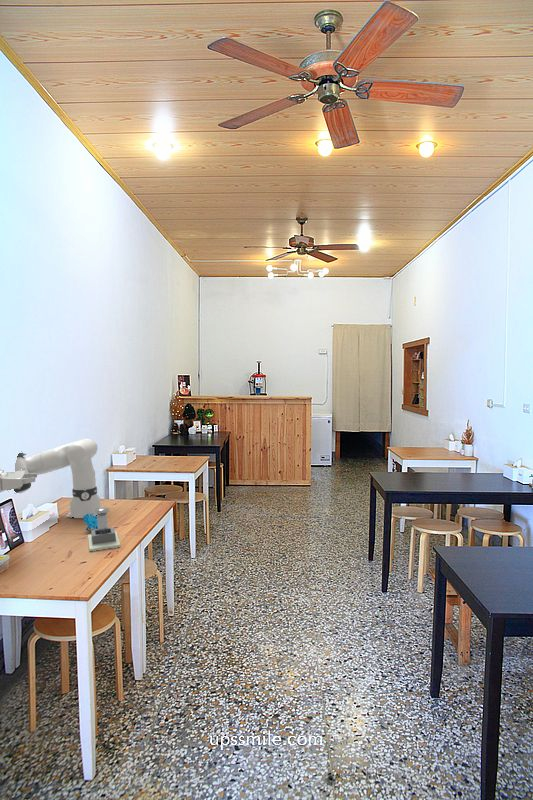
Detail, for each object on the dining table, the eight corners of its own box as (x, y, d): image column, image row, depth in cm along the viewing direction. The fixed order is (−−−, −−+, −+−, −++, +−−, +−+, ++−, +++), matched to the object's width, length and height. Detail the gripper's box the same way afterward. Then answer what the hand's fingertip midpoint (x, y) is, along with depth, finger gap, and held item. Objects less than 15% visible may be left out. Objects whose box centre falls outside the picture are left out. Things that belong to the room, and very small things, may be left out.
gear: (93, 530, 226) (81, 513, 229) (85, 539, 228) (73, 522, 230) (108, 526, 237) (96, 510, 240) (100, 535, 238) (89, 519, 241)
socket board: (88, 537, 222) (87, 527, 222) (116, 533, 226) (115, 523, 226) (89, 552, 204) (88, 540, 203) (120, 547, 208) (119, 536, 208)
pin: (96, 538, 217) (94, 508, 216) (109, 536, 219) (108, 506, 218) (96, 542, 211) (95, 511, 211) (110, 540, 213) (109, 509, 213)
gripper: (2, 483, 214) (38, 480, 219) (-5, 493, 195) (34, 489, 200) (1, 469, 214) (37, 465, 219) (-6, 477, 195) (33, 474, 199)
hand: (36, 477), depth 209 cm, fingers open, 8 cm apart
